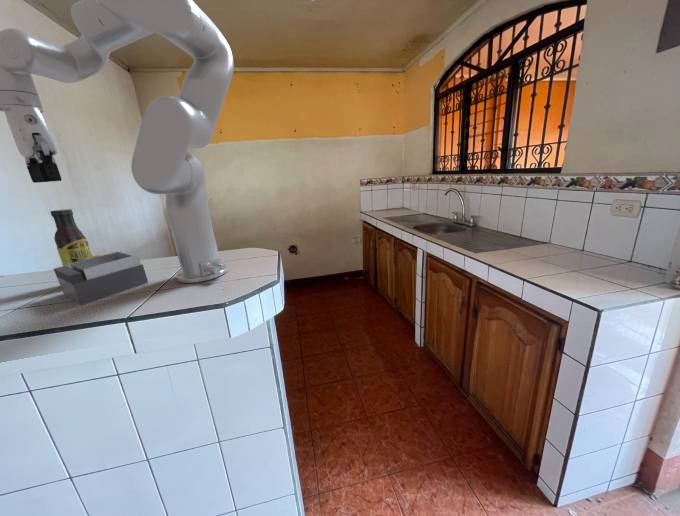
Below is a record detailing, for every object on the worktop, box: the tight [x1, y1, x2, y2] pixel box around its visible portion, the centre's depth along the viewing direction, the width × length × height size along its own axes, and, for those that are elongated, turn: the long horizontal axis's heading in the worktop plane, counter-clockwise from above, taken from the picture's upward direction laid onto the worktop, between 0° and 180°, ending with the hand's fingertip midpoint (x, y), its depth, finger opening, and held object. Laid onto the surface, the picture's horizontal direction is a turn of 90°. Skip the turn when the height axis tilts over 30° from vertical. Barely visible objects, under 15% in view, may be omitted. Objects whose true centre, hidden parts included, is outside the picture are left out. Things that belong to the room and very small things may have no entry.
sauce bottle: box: [50, 208, 93, 267], centre depth 76 cm, size 7×6×20 cm
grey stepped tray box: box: [53, 250, 149, 306], centre depth 72 cm, size 12×14×8 cm
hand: (47, 181), depth 71 cm, fingers open, 9 cm apart
